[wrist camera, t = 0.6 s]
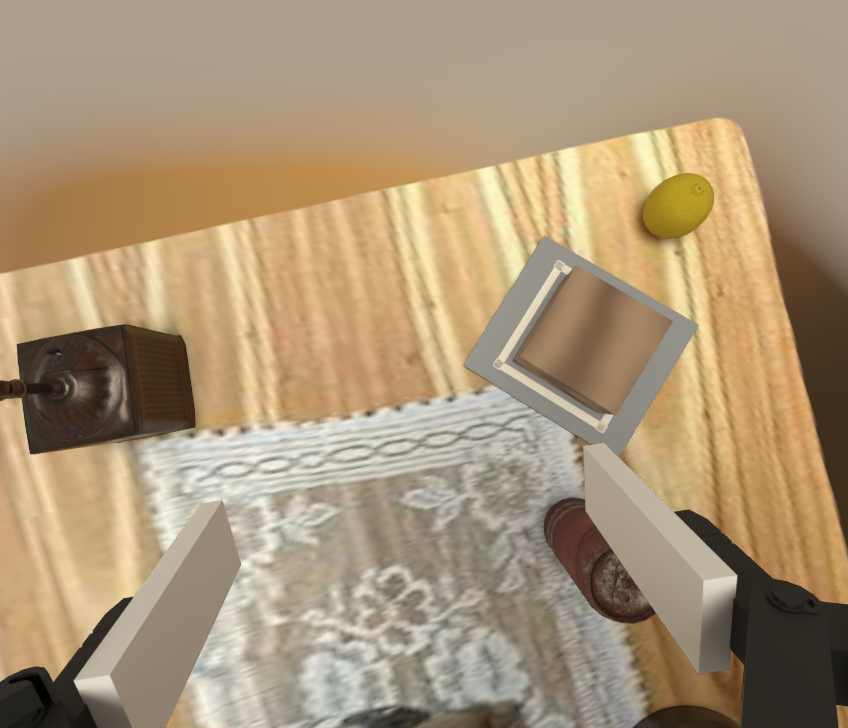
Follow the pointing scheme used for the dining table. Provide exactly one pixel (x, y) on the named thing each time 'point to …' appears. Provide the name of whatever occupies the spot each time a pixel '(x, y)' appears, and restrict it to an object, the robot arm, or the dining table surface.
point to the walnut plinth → (592, 341)
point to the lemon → (678, 205)
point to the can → (594, 564)
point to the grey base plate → (501, 371)
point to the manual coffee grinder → (102, 387)
